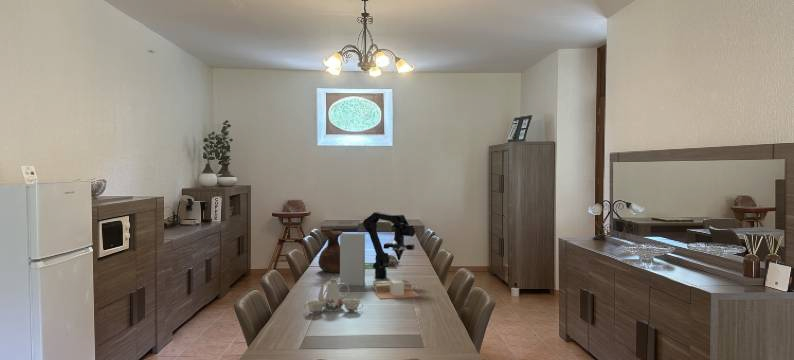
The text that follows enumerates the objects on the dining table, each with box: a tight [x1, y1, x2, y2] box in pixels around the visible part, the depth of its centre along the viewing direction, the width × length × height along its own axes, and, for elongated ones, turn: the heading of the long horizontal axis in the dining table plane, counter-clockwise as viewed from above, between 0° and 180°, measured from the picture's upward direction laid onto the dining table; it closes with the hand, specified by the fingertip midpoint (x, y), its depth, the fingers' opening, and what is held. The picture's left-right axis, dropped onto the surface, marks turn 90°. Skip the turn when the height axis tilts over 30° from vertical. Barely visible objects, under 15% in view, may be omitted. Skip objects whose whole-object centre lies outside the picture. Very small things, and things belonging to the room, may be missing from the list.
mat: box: [375, 289, 420, 300], centre depth 278 cm, size 13×22×1 cm, turn 104°
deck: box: [372, 279, 412, 292], centre depth 291 cm, size 11×20×4 cm, turn 104°
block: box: [389, 278, 404, 296], centre depth 279 cm, size 7×6×8 cm
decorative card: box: [365, 254, 403, 270], centre depth 359 cm, size 33×8×20 cm
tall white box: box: [339, 233, 366, 286], centre depth 304 cm, size 14×6×30 cm, turn 84°
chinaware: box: [304, 276, 364, 315], centre depth 247 cm, size 28×17×17 cm, turn 106°
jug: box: [317, 228, 344, 274], centre depth 340 cm, size 22×22×30 cm
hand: (399, 260), depth 312 cm, fingers closed
